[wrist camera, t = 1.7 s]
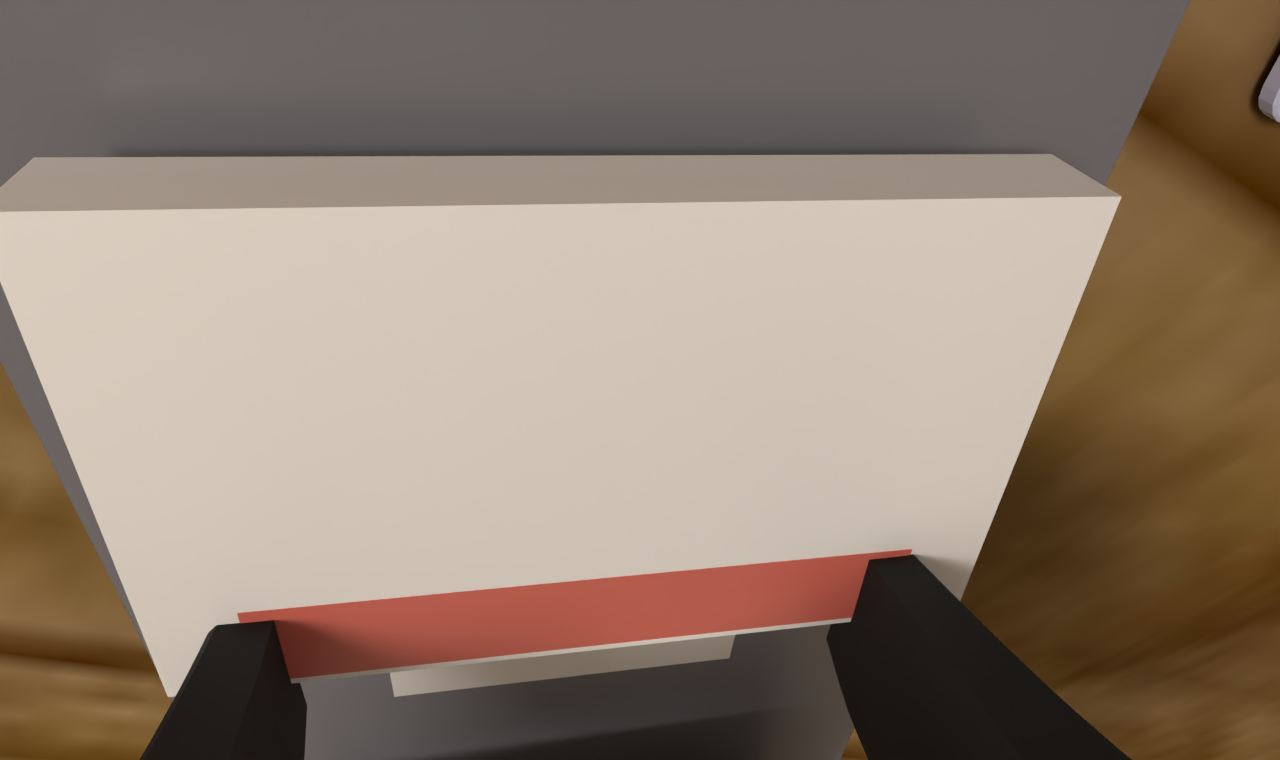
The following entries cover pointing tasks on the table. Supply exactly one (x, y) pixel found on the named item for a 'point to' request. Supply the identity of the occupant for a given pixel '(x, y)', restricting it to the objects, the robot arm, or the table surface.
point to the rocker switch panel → (568, 126)
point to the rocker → (537, 385)
